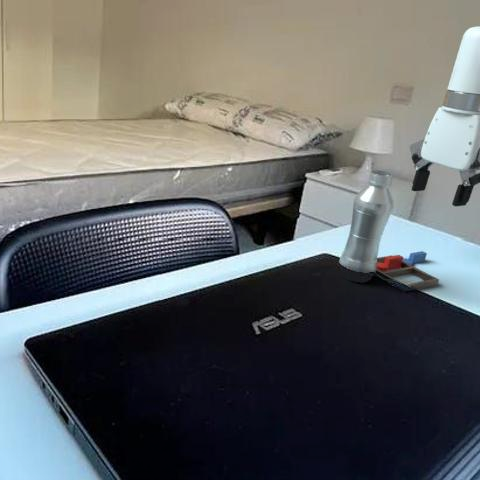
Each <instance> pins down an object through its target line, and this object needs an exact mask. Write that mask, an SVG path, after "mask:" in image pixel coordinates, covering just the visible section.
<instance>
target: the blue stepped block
mask: <svg viewBox="0 0 480 480" xmlns="http://www.w3.org/2000/svg"><path fill="white" fill-rule="evenodd" d="M427 255H428V254H427V252H425V251H423V250H421V251H416V252H410V253H409V256H408V258H404V257H403V260H402V261H404V262H406V263H408V264H410V265H412V266H414V265H413V264H417V263H423V262H425V261H426V258H427Z"/></svg>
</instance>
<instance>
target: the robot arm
mask: <svg viewBox="0 0 480 480" xmlns="http://www.w3.org/2000/svg"><path fill="white" fill-rule="evenodd" d="M409 150H410V153H411V160H412V163H413V164H414V166H413V168H414V170H415V174H414V176H413V180H412V186H411V191H412V192H422V191H425V190H426V188H427V185H428V182H429V178H430V175H431V170H429V169H430V168H431V167H432V166H433V165H438V166H441V167H444V168H448V169H451V170H455V171H459V176H460V179H461V184H458V185H457V188H456V190H455V193H454V197H453V199H452V202H451V205H452V206H453V207H464V206H466V205H467V203H469V201H470V198H471V196H472V193H473V190H474V187H475V186H478V185H479V184H480V172H478V173H477V171H480V26H479V25H478V26H472V27H469V28H467V30H466V31H465V32H464V33H463V35H462V38H461V41H460V45H459V48H458V51H457V55H456V58H455V61H454V66H453V69H452V72H451V76H450V79H449V82H448V85H447V88H446V91H445V95H444V99H443V102H442V105H441V106H440V107H438V109H437V110H436V112H435V114H434V116H433V118H432V120H431V122H430V124H429V127H428V129H427V132H426V134H425V137H424V139H421V140H419V141H417V142H413V143H412V144H410V145H409Z"/></svg>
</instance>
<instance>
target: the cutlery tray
mask: <svg viewBox="0 0 480 480" xmlns="http://www.w3.org/2000/svg"><path fill="white" fill-rule="evenodd" d="M389 256H393V255H386V256H379V257H377V262H380V263H384V261H385V258H386V257H389ZM375 273H377V274H379V275H381V276H384V277H386V278H389V279H391V280H395V281H397V282H400V283H402V284H404V285H407V286H410V287H411V288H413V289H415V290H414V291H419V290H423V289H429V288H433V287H438V285H439V282H440V279H439V278H437V277H435V276H433V275H431V274H429V273H427V272H426V271H424V270H421V269H419V268H418V267H415V266H414V265H410V264H408V263H406V262H404V261H402V264H401V267H400V268H399V269H393V270H388V271H385V272H382V271H380V270H378V269H376V272H375ZM406 275H414V276H416V277H418V278H420V279H421V281H416V282H411V283H407V284H405V283H404V282H402V281H400V280H398V279H396V277H397V278H398V277H401V276H402V277H403V276H406Z"/></svg>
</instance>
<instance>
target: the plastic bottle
mask: <svg viewBox="0 0 480 480" xmlns="http://www.w3.org/2000/svg"><path fill="white" fill-rule="evenodd" d="M393 178H394V174H393V173H392V172H388V171H385V170H377V169H373V170H370V172H369V175H368V178H367V180H366V182H367V183H368V184H367V185H366V186H364V187H363V188H362V189H361V190H360V191H359V192H358V193H357V194H356V196H355V197H354V199H353V204H352V214H351V223H350V230H349V232H348V236H347V239H346V243H345V246H344V249H343V251H342V253H341V255H340V257H339V260H338V262H339V263H340V264H341V265H342V266H344V267H346V268H347V269H350V270H353V271H356V272H363V273H369V272H374V273H375V272H376V267H377V258H378V255H379V249H380V244H381V239H382V236H383V235H384V231H385V228H386V226H387V224H388V222H389V219H390V218H391V215H392V212H393V210H394V208H395V207H394V199H393V196H392V194H391V192H390V187H391V186H392V185H393V183H392V181H393Z"/></svg>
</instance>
